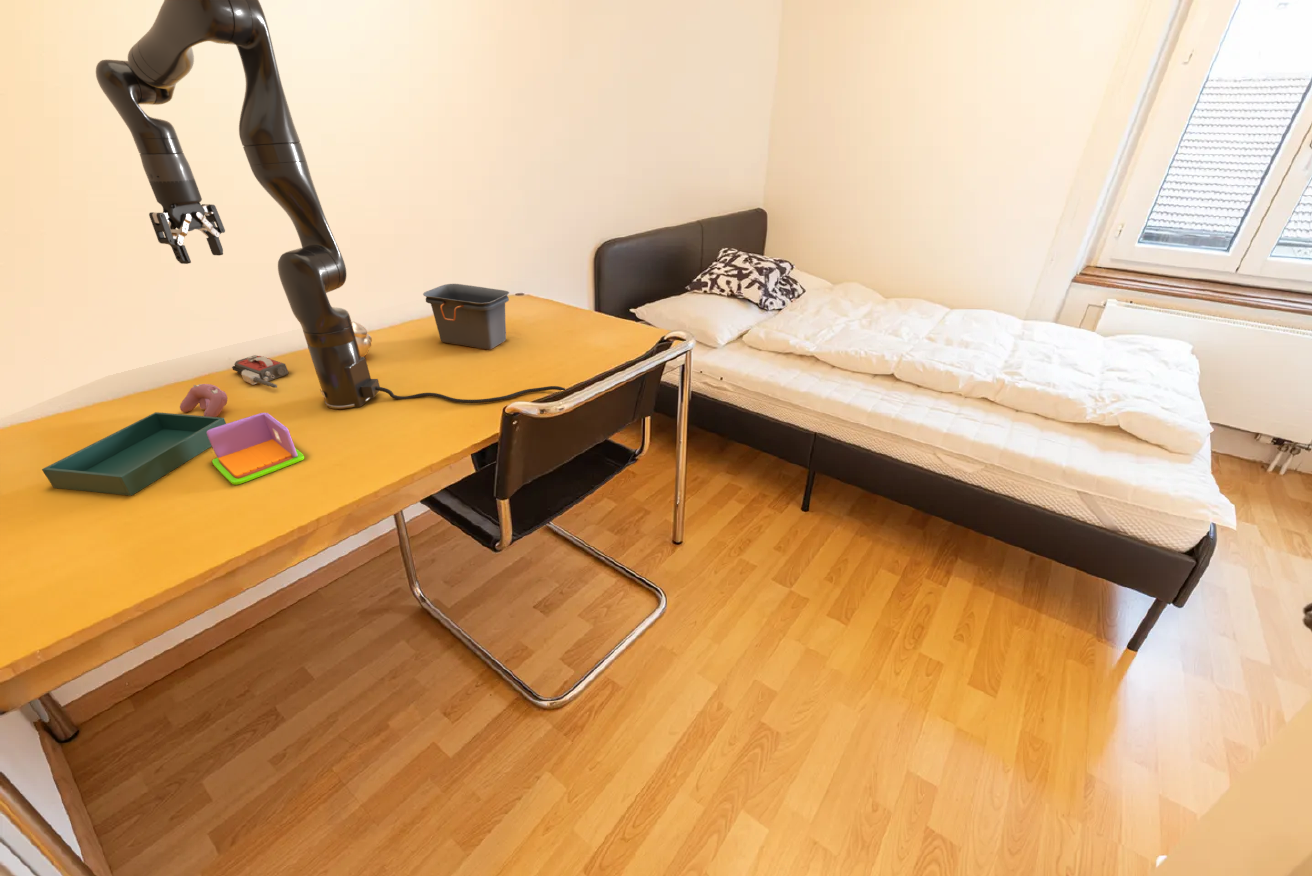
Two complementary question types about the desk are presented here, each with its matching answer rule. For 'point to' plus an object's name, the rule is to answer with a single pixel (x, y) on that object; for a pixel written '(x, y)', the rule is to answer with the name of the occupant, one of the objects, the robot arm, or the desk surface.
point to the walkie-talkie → (260, 370)
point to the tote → (134, 454)
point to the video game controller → (205, 399)
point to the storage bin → (469, 314)
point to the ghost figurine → (362, 338)
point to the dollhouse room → (252, 448)
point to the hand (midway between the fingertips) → (202, 259)
